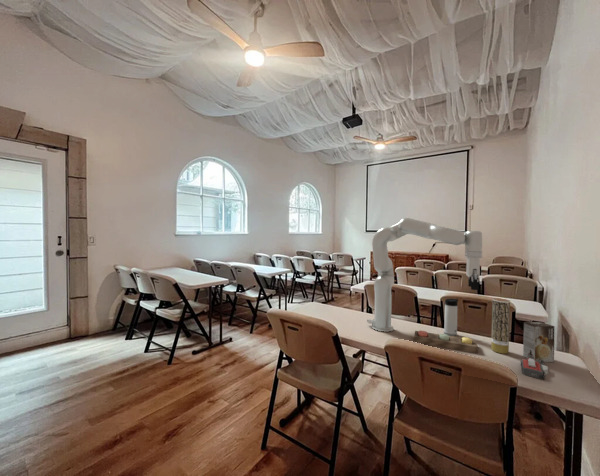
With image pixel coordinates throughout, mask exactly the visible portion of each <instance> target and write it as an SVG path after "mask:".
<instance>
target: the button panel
mask: <svg viewBox="0 0 600 476" xmlns="http://www.w3.org/2000/svg"><path fill="white" fill-rule="evenodd" d="M418 331H419V330H415V331H414V335H413V342H414V341H415V342H419V343H418V344H420V343H423V344H422V345H428V346H432V347H440V348H445V349H451V350H454V351H455V350H457V351H461V350H462V351H461V352H468V353H475V354H478V353H479V347H478V343H477V341H476V339H472V344H466V343H462V337H457V336H449V341H448V340H441V339H439V334H440V333H439V334H438V333H431V332H427V337H423V336H418ZM415 342H414V343H415Z"/></svg>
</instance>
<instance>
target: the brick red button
mask: <svg viewBox="0 0 600 476" xmlns="http://www.w3.org/2000/svg"><path fill="white" fill-rule="evenodd" d="M417 331H418V336H423V337H427V333H428V331H425V330H417Z"/></svg>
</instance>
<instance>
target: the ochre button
mask: <svg viewBox="0 0 600 476" xmlns="http://www.w3.org/2000/svg"><path fill="white" fill-rule="evenodd" d="M461 338H462V343H466V344H472V340H473V339H472V338H470V337H467V336H466V337H464V336H463V337H461Z"/></svg>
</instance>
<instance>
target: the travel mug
mask: <svg viewBox="0 0 600 476" xmlns="http://www.w3.org/2000/svg"><path fill="white" fill-rule="evenodd" d="M458 302H459V299H457V298H446V299H445V300H444V327H443V328H444V329H443V330H444V331H443V332H444V333H443V334H446V335H449V336H453V337H457V335H458Z"/></svg>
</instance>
